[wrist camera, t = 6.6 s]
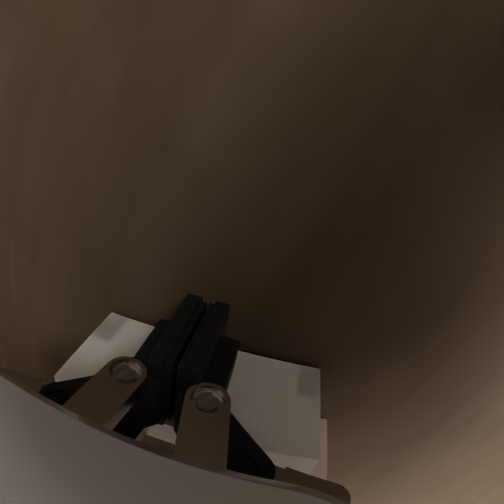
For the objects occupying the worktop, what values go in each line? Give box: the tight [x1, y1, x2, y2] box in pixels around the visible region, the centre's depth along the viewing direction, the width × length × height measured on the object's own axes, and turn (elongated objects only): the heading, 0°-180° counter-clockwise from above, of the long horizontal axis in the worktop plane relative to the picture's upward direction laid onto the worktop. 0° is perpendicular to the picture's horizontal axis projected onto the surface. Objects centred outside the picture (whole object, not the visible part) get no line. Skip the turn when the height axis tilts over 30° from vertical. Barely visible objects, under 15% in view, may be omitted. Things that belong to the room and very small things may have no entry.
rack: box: [54, 312, 321, 474], centre depth 17 cm, size 10×26×5 cm, turn 169°
